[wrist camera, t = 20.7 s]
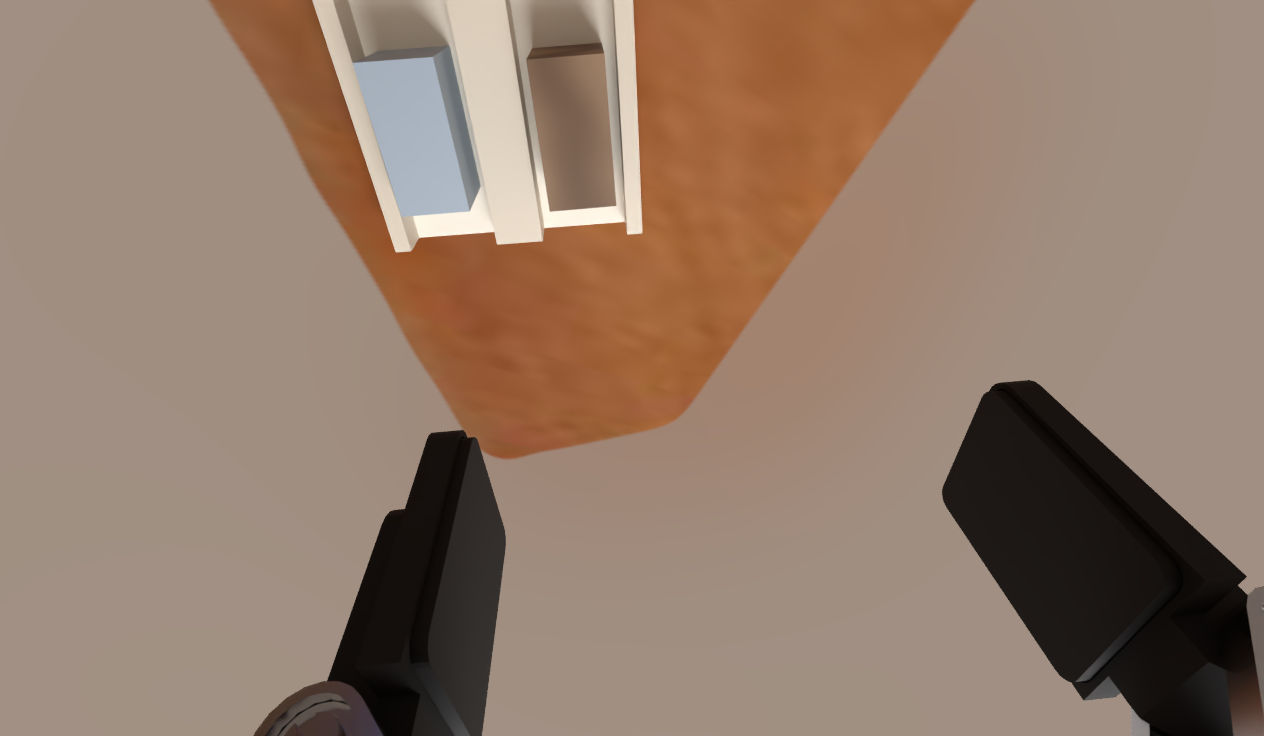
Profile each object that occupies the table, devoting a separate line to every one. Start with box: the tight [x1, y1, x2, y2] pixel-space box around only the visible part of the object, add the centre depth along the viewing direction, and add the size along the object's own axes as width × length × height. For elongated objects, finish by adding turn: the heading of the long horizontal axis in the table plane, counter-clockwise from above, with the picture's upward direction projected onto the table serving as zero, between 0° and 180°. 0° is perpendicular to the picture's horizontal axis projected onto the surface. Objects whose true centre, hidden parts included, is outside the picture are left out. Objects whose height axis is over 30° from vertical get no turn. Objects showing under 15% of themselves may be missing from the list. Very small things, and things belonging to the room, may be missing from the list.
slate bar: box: [353, 46, 481, 217], centre depth 32 cm, size 4×8×4 cm, turn 3°
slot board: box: [312, 0, 642, 252], centre depth 33 cm, size 16×14×3 cm
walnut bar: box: [526, 43, 616, 212], centre depth 32 cm, size 4×8×4 cm, turn 4°
